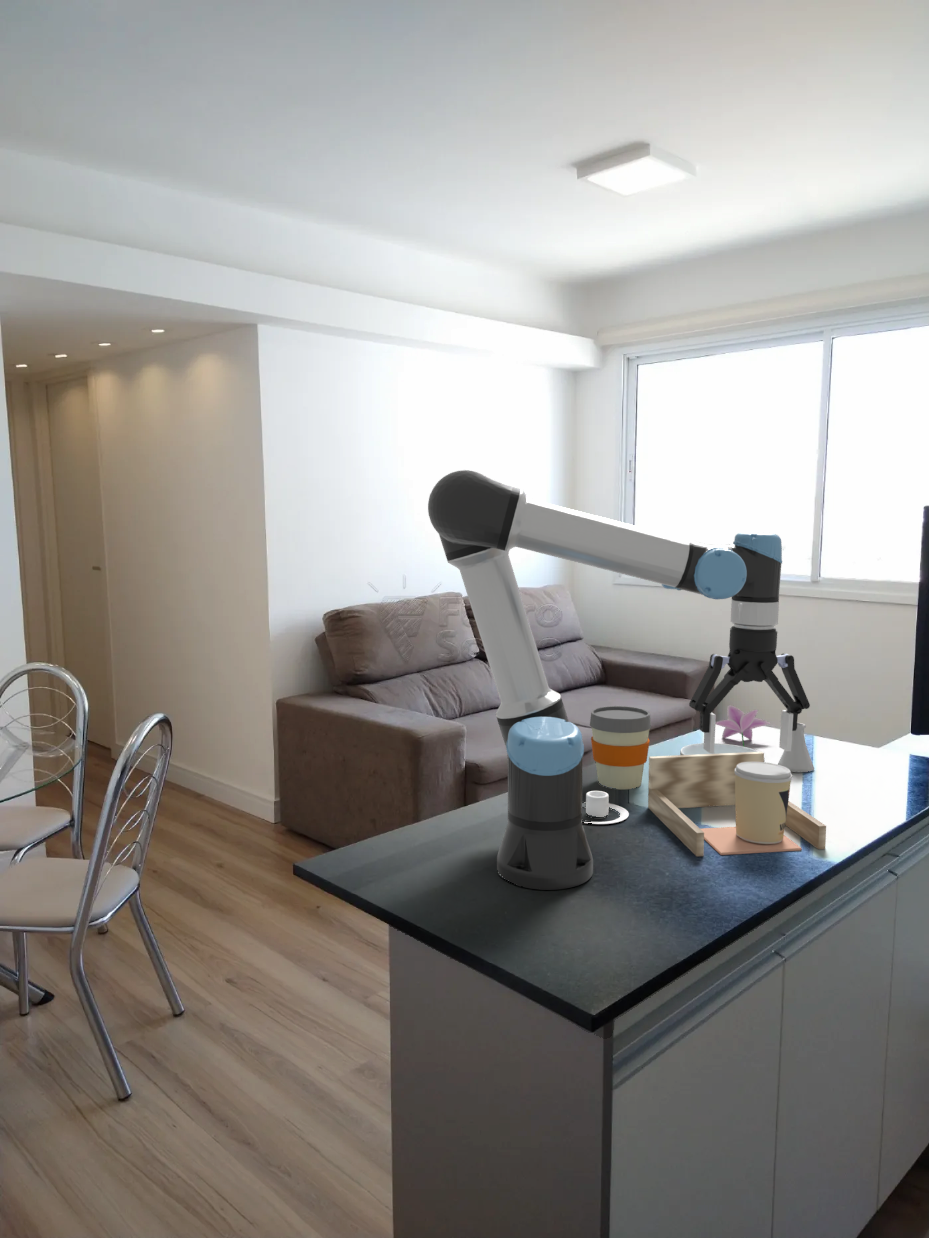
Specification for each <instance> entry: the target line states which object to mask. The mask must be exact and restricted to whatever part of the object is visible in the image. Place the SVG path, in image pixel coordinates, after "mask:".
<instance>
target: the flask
mask: <svg viewBox="0 0 929 1238" xmlns="http://www.w3.org/2000/svg"><path fill="white" fill-rule="evenodd" d="M806 727H807V726H806V723H801V722H797V729H796V731H792V745H791V751H785V750H783V752H782V755H781V757H780V758H779V760H778V763H777V765H781V766H784V767H786V768H788V769H789V770H790V771H791V773H809V772H812V771H814V769H815V767H814V764H813V760H812V759H811V756H810V753H809V750H808V746H807V743H806V738H805V728H806ZM808 771H809V772H808Z"/></svg>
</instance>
